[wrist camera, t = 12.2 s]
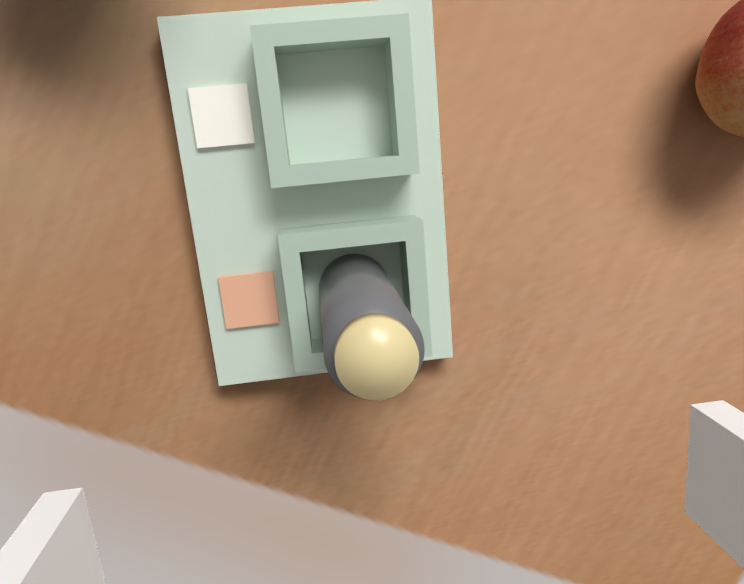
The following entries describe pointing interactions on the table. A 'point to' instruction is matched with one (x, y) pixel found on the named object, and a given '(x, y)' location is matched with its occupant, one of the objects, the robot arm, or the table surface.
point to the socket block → (308, 170)
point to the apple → (724, 72)
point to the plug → (367, 330)
